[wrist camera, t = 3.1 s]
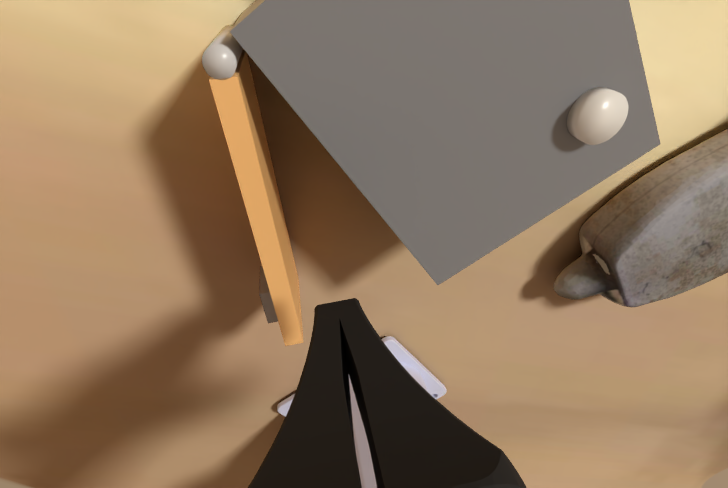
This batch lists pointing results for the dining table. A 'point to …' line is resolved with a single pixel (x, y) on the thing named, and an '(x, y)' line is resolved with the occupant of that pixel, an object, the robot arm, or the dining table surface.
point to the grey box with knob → (460, 107)
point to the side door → (255, 180)
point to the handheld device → (657, 232)
